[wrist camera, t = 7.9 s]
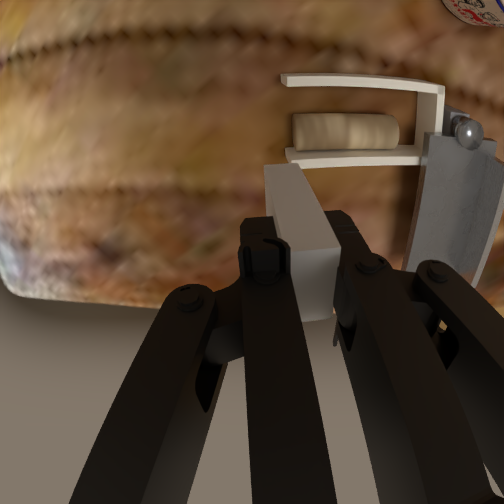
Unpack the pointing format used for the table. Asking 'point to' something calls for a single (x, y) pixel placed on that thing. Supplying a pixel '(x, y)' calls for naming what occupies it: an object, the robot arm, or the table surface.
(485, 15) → the teacup with lid
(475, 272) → the cover
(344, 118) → the dowel
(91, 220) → the table surface
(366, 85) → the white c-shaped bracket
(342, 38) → the table surface
